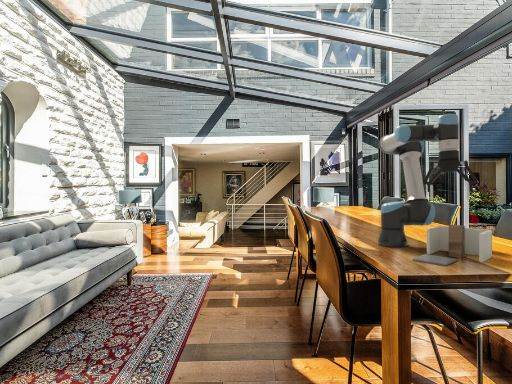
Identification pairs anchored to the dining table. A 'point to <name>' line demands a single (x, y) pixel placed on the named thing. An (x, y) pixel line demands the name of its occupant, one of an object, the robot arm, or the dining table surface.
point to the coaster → (434, 259)
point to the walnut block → (457, 241)
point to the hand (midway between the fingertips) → (449, 199)
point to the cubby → (474, 241)
